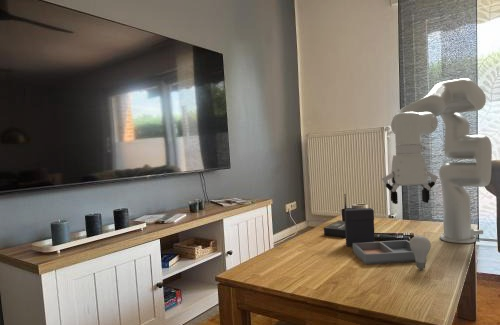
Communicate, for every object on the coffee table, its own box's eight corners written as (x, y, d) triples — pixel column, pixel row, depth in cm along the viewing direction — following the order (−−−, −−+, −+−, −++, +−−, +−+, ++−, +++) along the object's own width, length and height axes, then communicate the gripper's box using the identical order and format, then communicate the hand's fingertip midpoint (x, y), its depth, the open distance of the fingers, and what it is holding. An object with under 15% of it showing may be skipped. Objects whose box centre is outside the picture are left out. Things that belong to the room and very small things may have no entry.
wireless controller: (349, 239, 147) (347, 200, 147) (320, 235, 156) (319, 199, 155) (365, 229, 163) (364, 194, 162) (338, 226, 172) (337, 193, 171)
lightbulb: (429, 266, 110) (428, 233, 110) (433, 273, 104) (432, 238, 104) (409, 265, 112) (408, 233, 112) (411, 272, 106) (410, 238, 106)
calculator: (372, 243, 139) (371, 207, 138) (375, 246, 134) (373, 209, 134) (345, 244, 140) (343, 208, 139) (347, 247, 136) (345, 210, 135)
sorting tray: (407, 248, 129) (406, 239, 129) (426, 261, 115) (426, 251, 115) (352, 252, 129) (352, 243, 129) (365, 264, 115) (365, 254, 115)
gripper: (430, 149, 112) (432, 200, 113) (377, 151, 113) (379, 202, 114) (441, 149, 105) (443, 203, 105) (384, 152, 106) (386, 205, 107)
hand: (410, 202), depth 110 cm, fingers open, 9 cm apart
